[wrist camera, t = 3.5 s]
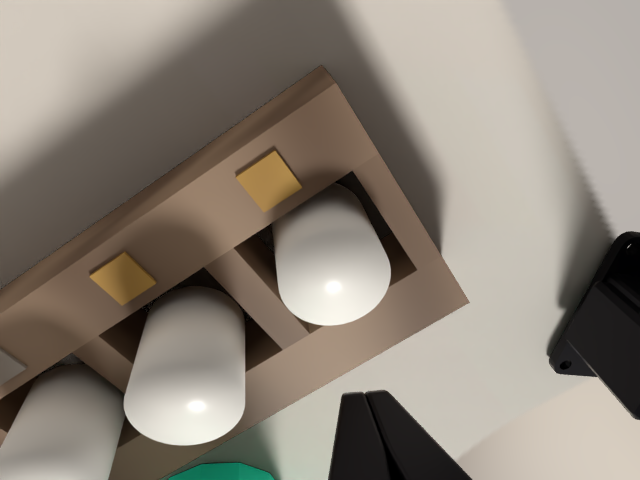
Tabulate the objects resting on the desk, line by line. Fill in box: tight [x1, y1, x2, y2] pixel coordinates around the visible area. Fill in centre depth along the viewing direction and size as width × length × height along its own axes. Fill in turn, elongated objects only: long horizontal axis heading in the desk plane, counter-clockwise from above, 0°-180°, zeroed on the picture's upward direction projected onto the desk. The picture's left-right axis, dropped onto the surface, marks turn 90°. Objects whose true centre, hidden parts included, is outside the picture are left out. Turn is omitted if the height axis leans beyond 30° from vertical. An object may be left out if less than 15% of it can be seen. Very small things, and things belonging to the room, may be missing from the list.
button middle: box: [124, 286, 245, 445], centre depth 14 cm, size 3×3×3 cm
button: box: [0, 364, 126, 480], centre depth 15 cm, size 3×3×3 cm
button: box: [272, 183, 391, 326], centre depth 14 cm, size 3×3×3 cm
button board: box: [0, 65, 470, 480], centre depth 16 cm, size 15×8×3 cm, turn 122°
